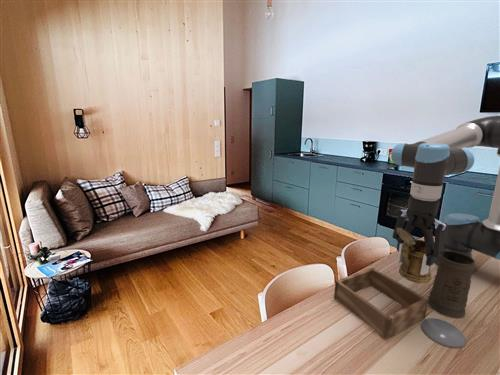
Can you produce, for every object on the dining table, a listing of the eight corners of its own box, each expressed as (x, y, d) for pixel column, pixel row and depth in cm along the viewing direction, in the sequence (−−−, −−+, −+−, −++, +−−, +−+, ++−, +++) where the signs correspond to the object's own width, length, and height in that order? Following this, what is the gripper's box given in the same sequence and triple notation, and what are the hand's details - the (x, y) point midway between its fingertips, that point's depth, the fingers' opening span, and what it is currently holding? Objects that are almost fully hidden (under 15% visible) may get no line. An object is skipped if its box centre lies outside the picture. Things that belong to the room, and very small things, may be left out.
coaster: (434, 315, 90) (434, 313, 90) (472, 339, 81) (473, 337, 81) (413, 327, 85) (414, 325, 85) (452, 353, 76) (453, 351, 76)
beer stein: (473, 322, 87) (485, 265, 83) (436, 317, 89) (446, 261, 86) (449, 294, 102) (458, 245, 98) (417, 291, 104) (425, 242, 100)
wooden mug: (381, 273, 88) (388, 221, 83) (412, 265, 92) (421, 216, 87) (404, 289, 80) (413, 233, 75) (437, 280, 84) (448, 226, 79)
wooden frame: (370, 283, 107) (372, 267, 106) (424, 318, 89) (428, 299, 87) (333, 297, 99) (335, 281, 97) (386, 339, 80) (389, 320, 79)
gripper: (385, 190, 85) (376, 255, 92) (454, 209, 68) (437, 288, 74) (401, 187, 89) (391, 250, 95) (470, 205, 71) (453, 281, 78)
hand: (412, 267), depth 85 cm, fingers closed on wooden mug, 7 cm apart
